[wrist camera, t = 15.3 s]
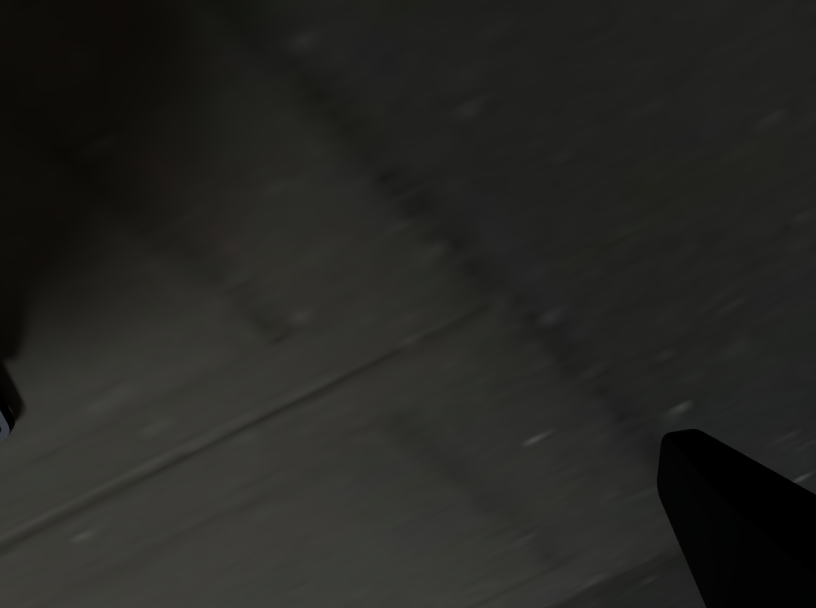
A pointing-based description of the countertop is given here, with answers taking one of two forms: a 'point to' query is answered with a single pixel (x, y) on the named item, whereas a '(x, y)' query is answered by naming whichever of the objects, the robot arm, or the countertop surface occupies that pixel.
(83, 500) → the countertop surface
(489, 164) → the countertop surface
